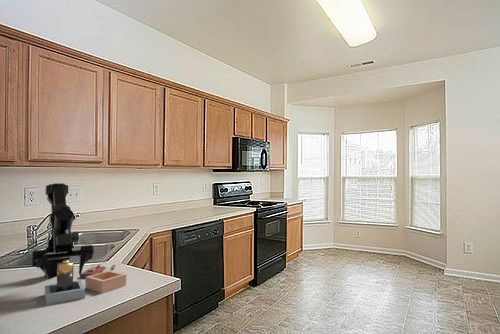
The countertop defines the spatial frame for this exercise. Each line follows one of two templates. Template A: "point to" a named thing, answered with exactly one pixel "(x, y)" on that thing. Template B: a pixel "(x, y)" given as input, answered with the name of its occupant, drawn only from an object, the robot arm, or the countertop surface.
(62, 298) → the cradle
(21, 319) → the countertop surface
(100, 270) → the walkie-talkie
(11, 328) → the countertop surface
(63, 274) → the cell
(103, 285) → the bin
